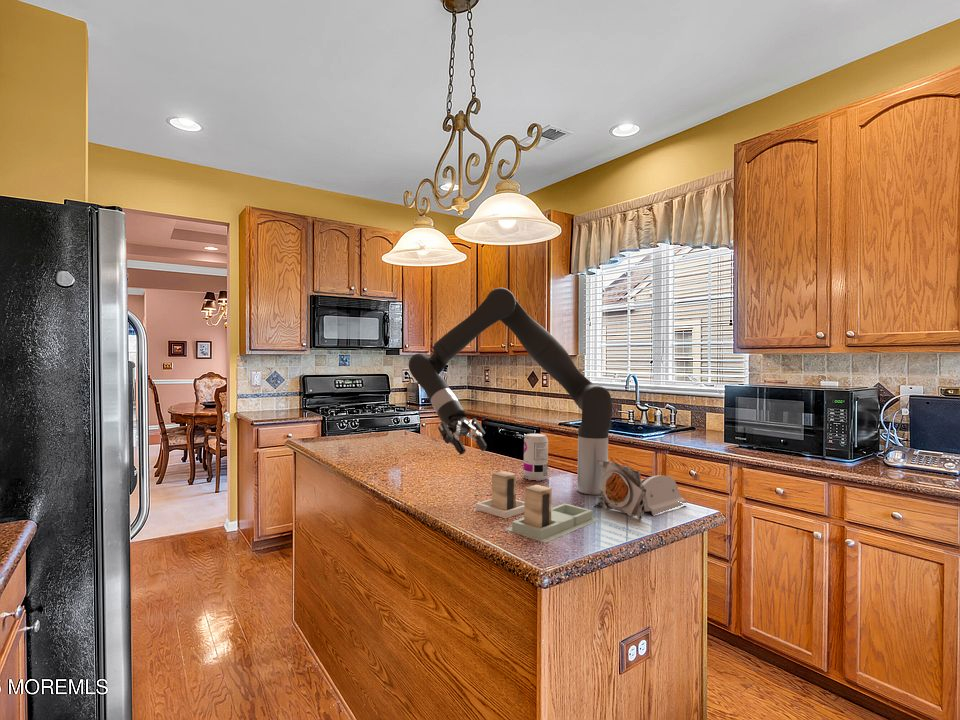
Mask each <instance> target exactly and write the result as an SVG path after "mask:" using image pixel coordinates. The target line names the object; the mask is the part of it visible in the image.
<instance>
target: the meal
mask: <svg viewBox="0 0 960 720" xmlns="http://www.w3.org/2000/svg"><path fill="white" fill-rule="evenodd" d="M597 462H598V464H599V465H600V466H601V469H602V470H603V472H604V476H603V477H602V481H601V483H600V486H599V489H600V490H601V491H600V497H598V499H599V500H598V501H597V503H596V504H595V505H593V508H601V509H606V510H614V511H618V512H620V513H623V512H624V513H623V514H626V513H627V515H628V516H629V517H630V516H633V517H635V516H636V518H637V520H638V521H639V520H640V521H641V520H642V518H643V517H644V513H645V511H644V510H643V511H642V506H643V505H644V503H645V502H644V498H645V494H646V488H645V487H644V485H643V484H642V482H641V478H642V475H641V472H640V471H638V470H635V469H632V468H631V467H630V466H627V465H623V464H619V463H617V462H613V461H610V462H606V461H600V460H599V461H598V460H597ZM641 488H642V489H643V490H641ZM643 492H645V493H644V495H642V493H643ZM641 500H643V504H642V505H640V502H641Z"/></svg>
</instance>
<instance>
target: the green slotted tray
mask: <svg viewBox="0 0 960 720" xmlns="http://www.w3.org/2000/svg"><path fill="white" fill-rule="evenodd" d="M593 515H594V511H593V510H592V509H588V508H586V507H585V508H583V507H580V506H576V505H573V504H569V503H562V504H560V505H559V504H558V505H556V506H553V507H551V525H548V526H546V527H543V528H537V527H534V526H530V525H527V524H524V517H521V518H519V519H516V520H513V521H512V522H511V526H509V527H507V528H504V530H506V531H509V532H512V533H514V534H518V535H521V536H524V537H526V538H529V539H533V540H535V541H539V542H541V543H545V544H546V543H548V542H550V541H553V540H555V539H557V538H561V537H562V536H564V535H566V534H567V535H568V534H569V533H572V532H574V531H577V530H579V529H581V528H584V527H586V526H588V525H591V524H593V523H596V522H598V521H601V518H596V517H593Z"/></svg>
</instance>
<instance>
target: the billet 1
mask: <svg viewBox="0 0 960 720" xmlns="http://www.w3.org/2000/svg"><path fill="white" fill-rule="evenodd" d="M491 476H492V477H491V488H492V489H491V499H492V507H494V508H497V509H500V510H503V511H507V510H510V509H513V508H516V500H517V497H516V496H517V494H516V493H517V474H516V473H513V472H509V471H504V470H502V471H499V472H492V475H491Z"/></svg>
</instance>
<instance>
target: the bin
mask: <svg viewBox="0 0 960 720" xmlns="http://www.w3.org/2000/svg"><path fill="white" fill-rule="evenodd" d="M524 502H525V501H523V500H518V499H516V508H513V509H510V510H507V511H503V510H500V509H497V508H494V507H492V498H489V499H487V500H486V499H485V500H483V501H479V502H476V503H475V512H483V513H487V514H489V515H493V516H495V517H500V518H503V519H508V518H512V517H513V516H514V517H515V516H517V515H520V514H524Z"/></svg>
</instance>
